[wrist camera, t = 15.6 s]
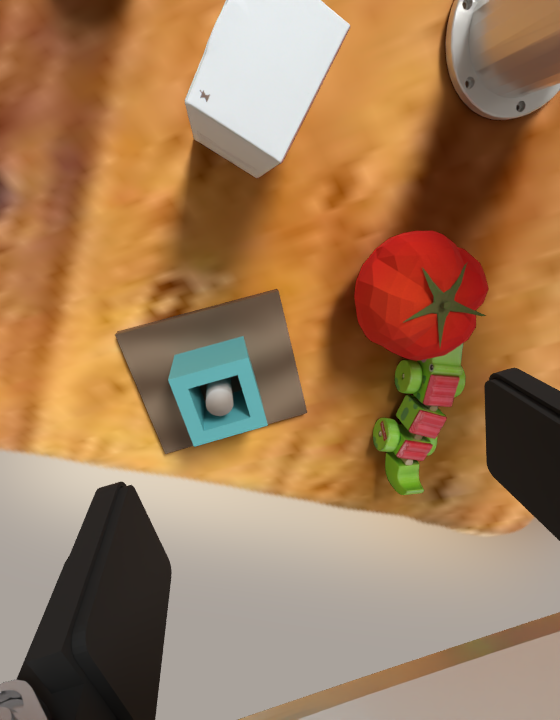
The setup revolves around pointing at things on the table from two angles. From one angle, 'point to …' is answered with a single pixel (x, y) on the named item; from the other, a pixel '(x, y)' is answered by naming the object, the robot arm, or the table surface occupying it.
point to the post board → (207, 327)
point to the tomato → (419, 295)
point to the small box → (261, 78)
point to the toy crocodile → (418, 416)
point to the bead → (209, 368)
